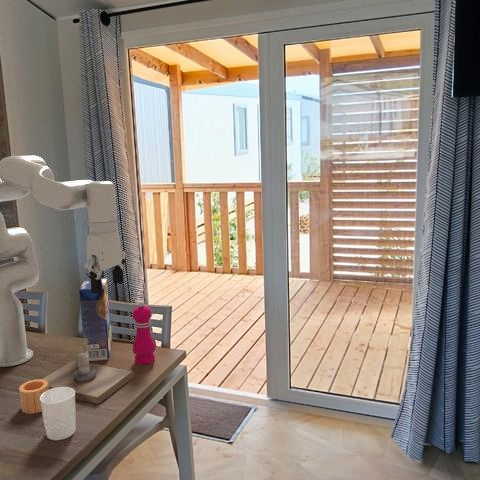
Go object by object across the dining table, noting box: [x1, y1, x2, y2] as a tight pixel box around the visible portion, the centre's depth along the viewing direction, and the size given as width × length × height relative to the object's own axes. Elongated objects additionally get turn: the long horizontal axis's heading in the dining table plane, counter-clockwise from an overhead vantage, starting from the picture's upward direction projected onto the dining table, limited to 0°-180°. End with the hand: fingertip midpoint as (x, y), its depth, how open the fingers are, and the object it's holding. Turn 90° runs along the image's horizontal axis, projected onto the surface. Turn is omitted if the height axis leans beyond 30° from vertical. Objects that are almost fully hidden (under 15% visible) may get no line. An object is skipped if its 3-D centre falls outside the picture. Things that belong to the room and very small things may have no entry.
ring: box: [18, 378, 49, 415], centre depth 130 cm, size 7×7×6 cm
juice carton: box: [78, 277, 113, 362], centre depth 161 cm, size 12×8×24 cm, turn 9°
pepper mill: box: [132, 300, 157, 366], centre depth 155 cm, size 7×7×20 cm
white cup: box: [40, 387, 77, 441], centre depth 117 cm, size 8×8×10 cm
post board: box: [41, 352, 134, 405], centre depth 142 cm, size 22×16×9 cm
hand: (108, 288), depth 135 cm, fingers open, 9 cm apart
